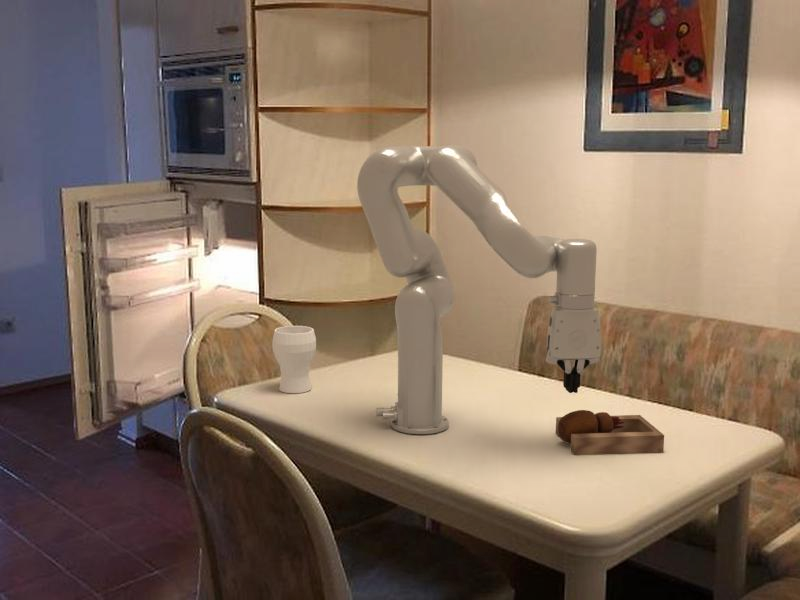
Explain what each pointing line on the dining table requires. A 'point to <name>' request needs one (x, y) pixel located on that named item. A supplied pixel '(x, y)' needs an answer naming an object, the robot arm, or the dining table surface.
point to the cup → (294, 356)
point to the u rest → (619, 438)
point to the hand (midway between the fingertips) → (571, 390)
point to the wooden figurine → (586, 424)
